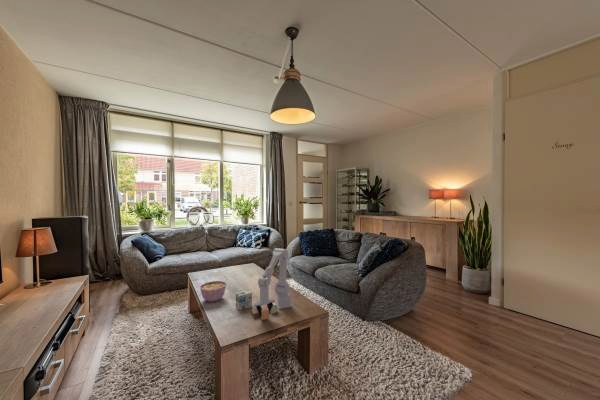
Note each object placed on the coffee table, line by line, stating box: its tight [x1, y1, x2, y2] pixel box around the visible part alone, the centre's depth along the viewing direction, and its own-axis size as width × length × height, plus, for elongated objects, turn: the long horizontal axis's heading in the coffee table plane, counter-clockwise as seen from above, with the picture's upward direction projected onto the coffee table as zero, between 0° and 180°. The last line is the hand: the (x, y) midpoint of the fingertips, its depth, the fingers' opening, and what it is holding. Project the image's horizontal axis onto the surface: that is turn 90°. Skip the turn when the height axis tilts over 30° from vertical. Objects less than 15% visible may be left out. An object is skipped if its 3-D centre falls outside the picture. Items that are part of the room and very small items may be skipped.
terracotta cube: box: [260, 306, 270, 321], centre depth 161 cm, size 5×5×6 cm
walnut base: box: [251, 306, 263, 319], centre depth 167 cm, size 7×7×4 cm
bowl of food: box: [199, 280, 227, 303], centre depth 193 cm, size 20×20×12 cm
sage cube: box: [270, 301, 278, 315], centre depth 172 cm, size 5×5×6 cm
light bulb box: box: [235, 289, 253, 311], centre depth 180 cm, size 11×7×11 cm, turn 126°
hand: (264, 315), depth 161 cm, fingers closed on terracotta cube, 6 cm apart
